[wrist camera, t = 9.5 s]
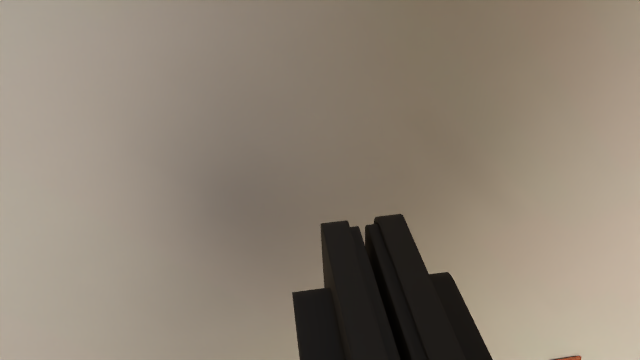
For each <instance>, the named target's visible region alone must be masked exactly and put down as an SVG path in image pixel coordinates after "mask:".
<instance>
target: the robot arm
mask: <svg viewBox="0 0 640 360" xmlns="http://www.w3.org/2000/svg"><path fill="white" fill-rule="evenodd" d="M321 241H322V257H323V273H324V288H322V289H315V290H307V291H300V292H292V294H293V304H294V313H295V322H296V331H297V340H298V348H299V357H300V360H493V359H492V357H491V355H490V353H489V351H488V349H487V347H486V345H485V343H484V341H483V339H482V337H481V335H480V333H479V331H478V329H477V327H476V325H475V323H474V320H473V318H472V316H471V314H470V312H469V310H468V308H467V306H466V304H465V302H464V300H463V298H462V296H461V294H460V292H459V290H458V288H457V286H456V284H455V281H454V280H453V278H452V276H451V275H450V274H449V273H448V272H445V273H437V274H428V271H427V269H426V267H425V265H424V262H423V260H422V258H421V255H420V253H419V251H418V249H417V246H416V244H415V242H414V239H413V237H412V235H411V233H410V230H409V228H408V226H407V223H406V221H405V219H404V217H403V215H402V214H396V215H388V216H380V217H375V218H374V224H372V225H366V227H365V245H364V241H363V238H362V235H361V232H360V229H359V227H358V226H356V227H349V223H348V221H338V222H330V223H322V224H321Z"/></svg>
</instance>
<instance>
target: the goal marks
mask: <svg viewBox="0 0 640 360" xmlns="http://www.w3.org/2000/svg"><path fill="white" fill-rule="evenodd" d="M557 360H581V356H576V357H570V358H563V359H557Z"/></svg>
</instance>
